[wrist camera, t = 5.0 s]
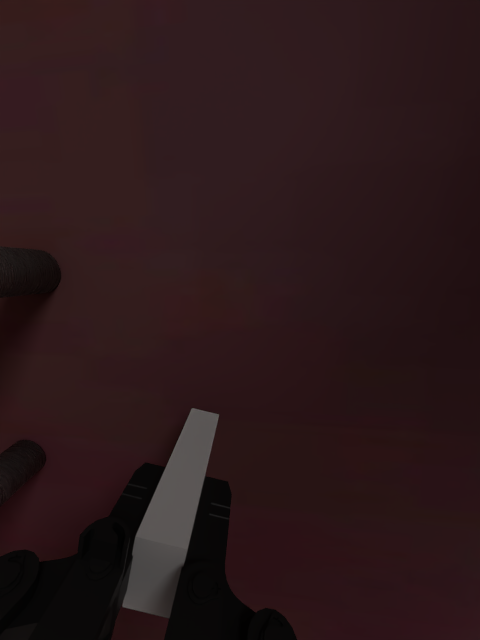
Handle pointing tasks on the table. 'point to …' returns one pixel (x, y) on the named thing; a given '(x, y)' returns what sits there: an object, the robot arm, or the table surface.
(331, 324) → the table surface
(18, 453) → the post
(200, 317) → the table surface
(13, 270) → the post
